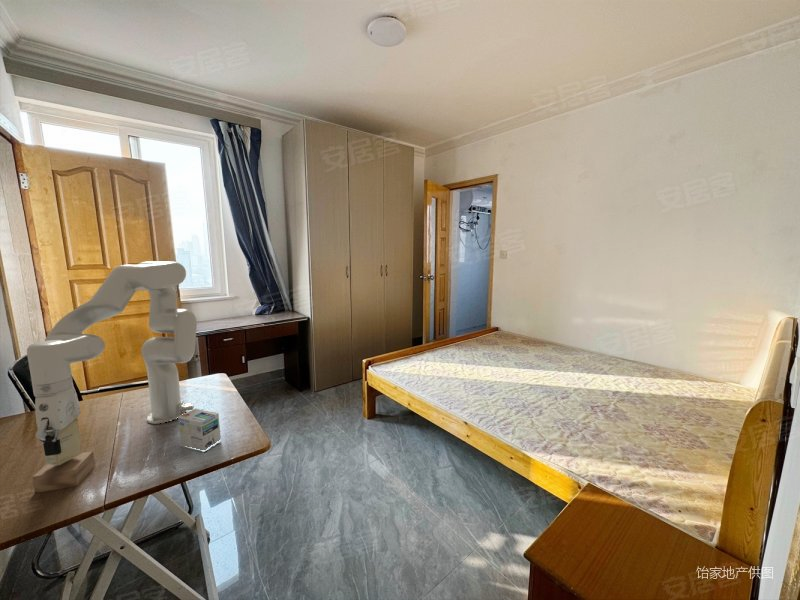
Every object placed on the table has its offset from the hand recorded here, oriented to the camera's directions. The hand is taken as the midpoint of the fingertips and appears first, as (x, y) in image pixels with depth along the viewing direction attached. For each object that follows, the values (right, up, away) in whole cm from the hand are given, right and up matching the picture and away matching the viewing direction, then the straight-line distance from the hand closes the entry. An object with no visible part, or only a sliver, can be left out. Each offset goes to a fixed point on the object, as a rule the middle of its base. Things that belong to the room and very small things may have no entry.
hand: (62, 445), depth 93 cm
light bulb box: (+28, -8, +18) cm, 34 cm away
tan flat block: (0, -10, +1) cm, 10 cm away
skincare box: (0, -4, +1) cm, 4 cm away
